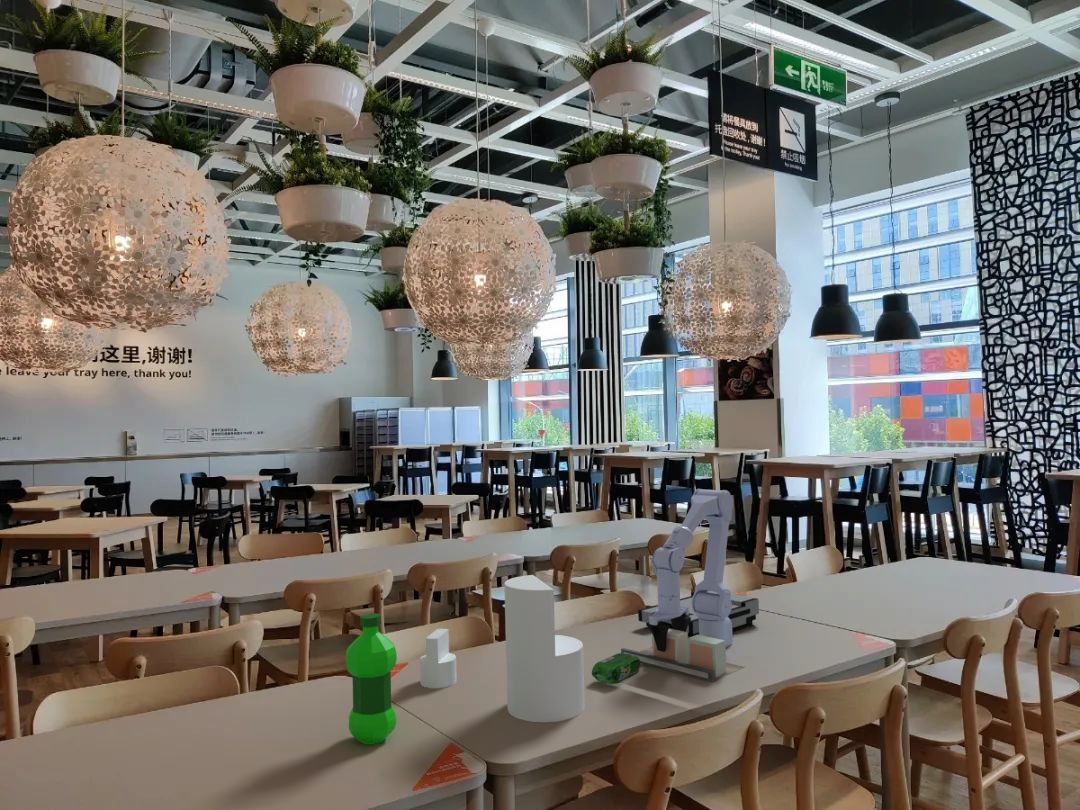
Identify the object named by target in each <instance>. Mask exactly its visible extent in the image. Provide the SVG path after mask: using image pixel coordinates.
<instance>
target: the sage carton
mask: <svg viewBox="0 0 1080 810" xmlns="http://www.w3.org/2000/svg"><path fill="white" fill-rule="evenodd" d="M687 643H688V664H690V665H694V666H698V667H702V668H706V669H710V670H714V677H715V678H716V677H719V676H721V675H723V674H725V673H726V663H727V661H726V660H727V658H726V657H727V655H726V648H725V640H721V639H716V638H711V637H706V636H702V635H695V636H693V637H688V638H687Z"/></svg>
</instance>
